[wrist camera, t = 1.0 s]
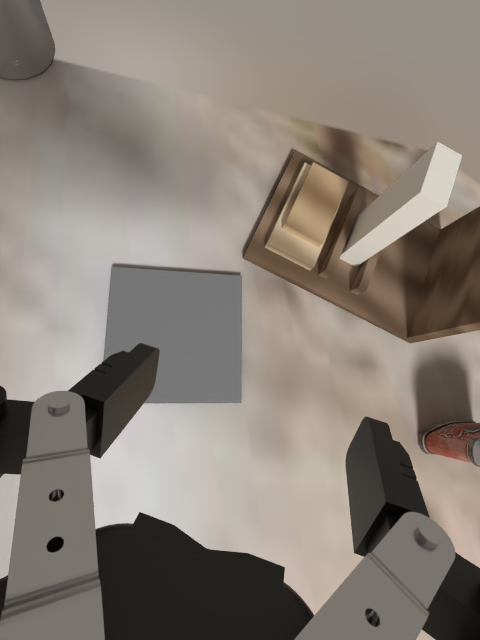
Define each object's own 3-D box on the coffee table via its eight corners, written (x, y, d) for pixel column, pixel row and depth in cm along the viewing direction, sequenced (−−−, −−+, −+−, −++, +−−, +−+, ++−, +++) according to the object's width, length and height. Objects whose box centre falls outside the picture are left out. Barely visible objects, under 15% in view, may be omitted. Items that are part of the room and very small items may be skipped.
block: (355, 266, 41) (446, 206, 27) (337, 257, 40) (420, 192, 27) (369, 230, 42) (462, 155, 29) (352, 221, 42) (437, 141, 28)
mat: (112, 268, 36) (111, 266, 35) (240, 277, 39) (241, 275, 38) (101, 403, 33) (99, 403, 32) (240, 402, 36) (241, 402, 35)
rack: (410, 343, 41) (538, 318, 27) (242, 258, 39) (283, 181, 25) (442, 237, 45) (567, 166, 31) (292, 155, 43) (352, 38, 29)
